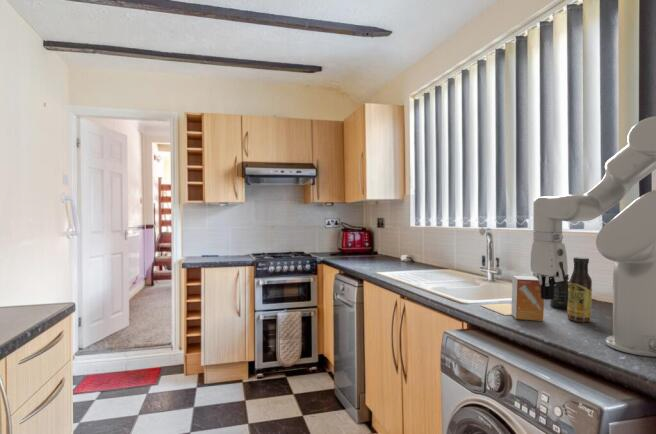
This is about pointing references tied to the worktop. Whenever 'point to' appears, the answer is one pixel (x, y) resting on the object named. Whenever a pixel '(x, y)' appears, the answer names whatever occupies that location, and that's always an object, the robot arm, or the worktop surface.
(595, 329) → the worktop surface
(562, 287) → the supplement bottle
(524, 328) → the worktop surface
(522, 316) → the small box
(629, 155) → the robot arm
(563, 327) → the worktop surface
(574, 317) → the sauce bottle
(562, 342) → the worktop surface
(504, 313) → the cork mat
